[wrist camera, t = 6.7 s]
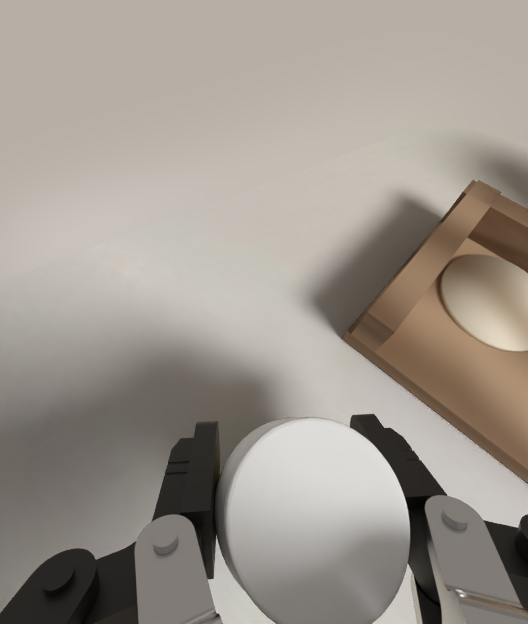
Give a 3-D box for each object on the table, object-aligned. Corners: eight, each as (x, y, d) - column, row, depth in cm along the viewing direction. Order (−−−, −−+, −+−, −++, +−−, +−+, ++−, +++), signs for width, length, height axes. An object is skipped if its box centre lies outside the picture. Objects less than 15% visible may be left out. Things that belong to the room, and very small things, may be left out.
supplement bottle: (200, 509, 14) (153, 538, 6) (265, 418, 16) (288, 360, 8) (291, 594, 13) (365, 753, 5) (350, 485, 14) (464, 486, 7)
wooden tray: (575, 519, 14) (666, 530, 11) (341, 338, 18) (362, 308, 15) (634, 330, 19) (708, 301, 16) (443, 218, 23) (474, 178, 20)
